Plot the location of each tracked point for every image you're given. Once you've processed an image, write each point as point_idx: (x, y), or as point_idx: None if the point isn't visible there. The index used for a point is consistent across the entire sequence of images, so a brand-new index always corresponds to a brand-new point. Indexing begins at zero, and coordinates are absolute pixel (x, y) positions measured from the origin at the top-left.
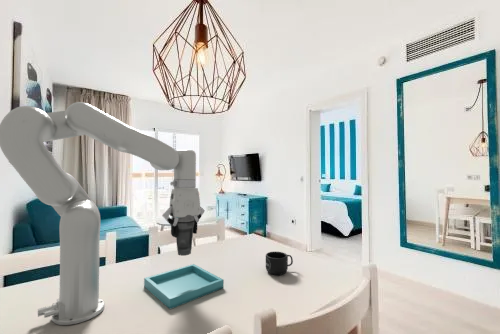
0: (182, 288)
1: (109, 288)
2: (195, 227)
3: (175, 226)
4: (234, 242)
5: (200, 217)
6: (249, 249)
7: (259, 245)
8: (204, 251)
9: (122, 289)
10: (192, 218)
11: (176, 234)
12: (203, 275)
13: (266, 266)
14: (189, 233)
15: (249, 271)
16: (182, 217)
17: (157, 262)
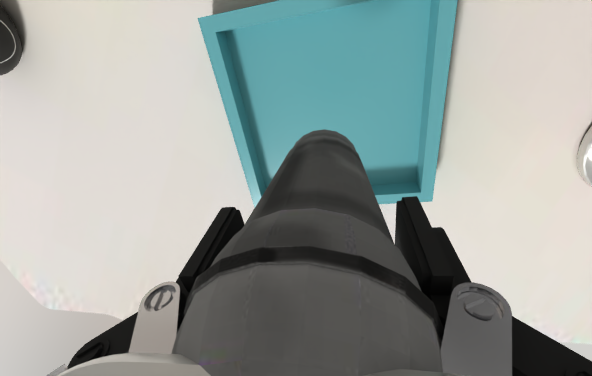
0: (344, 91)
1: (502, 227)
2: (214, 240)
3: (447, 281)
4: (102, 292)
5: (104, 334)
6: (66, 236)
7: (31, 243)
8: None
9: (480, 203)
10: (215, 308)
11: (418, 210)
12: (249, 133)
13: (2, 40)
14: (297, 184)
15: (91, 94)
16: (409, 374)
17: None
